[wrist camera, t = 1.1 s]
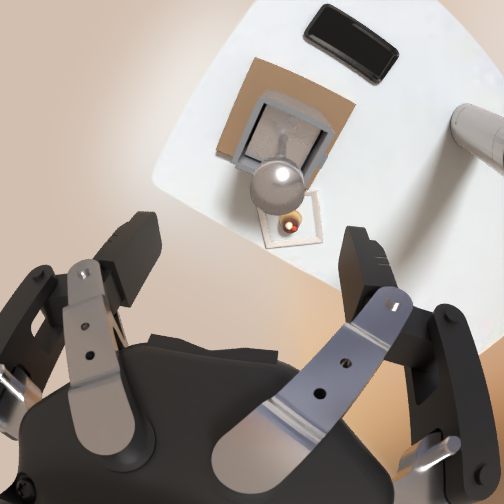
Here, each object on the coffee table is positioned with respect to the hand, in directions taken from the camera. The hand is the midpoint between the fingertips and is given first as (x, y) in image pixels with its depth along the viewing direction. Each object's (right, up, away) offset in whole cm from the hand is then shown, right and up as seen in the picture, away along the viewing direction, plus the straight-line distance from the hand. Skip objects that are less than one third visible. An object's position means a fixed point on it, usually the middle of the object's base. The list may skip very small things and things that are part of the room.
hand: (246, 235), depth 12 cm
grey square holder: (+6, +21, +34) cm, 41 cm away
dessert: (+8, +6, +46) cm, 47 cm away
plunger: (+4, +14, +24) cm, 28 cm away
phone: (+17, +34, +24) cm, 45 cm away
